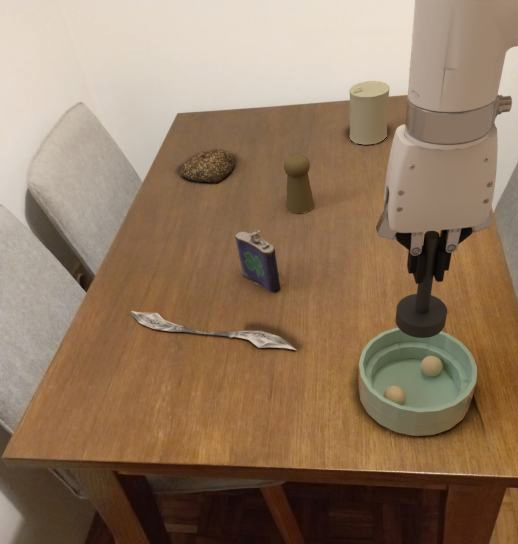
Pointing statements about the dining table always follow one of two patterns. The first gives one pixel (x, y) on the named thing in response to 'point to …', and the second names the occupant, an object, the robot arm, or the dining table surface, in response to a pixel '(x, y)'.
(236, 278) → the dining table surface
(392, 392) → the dough ball
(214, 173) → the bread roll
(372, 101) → the can
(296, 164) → the olive brown pawn
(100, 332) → the dining table surface
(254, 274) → the flask
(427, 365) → the dough ball
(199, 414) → the dining table surface
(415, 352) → the bowl
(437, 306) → the peg on round base
